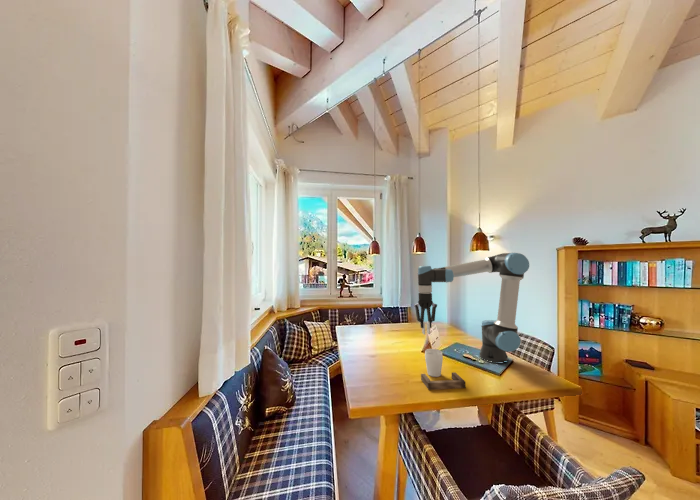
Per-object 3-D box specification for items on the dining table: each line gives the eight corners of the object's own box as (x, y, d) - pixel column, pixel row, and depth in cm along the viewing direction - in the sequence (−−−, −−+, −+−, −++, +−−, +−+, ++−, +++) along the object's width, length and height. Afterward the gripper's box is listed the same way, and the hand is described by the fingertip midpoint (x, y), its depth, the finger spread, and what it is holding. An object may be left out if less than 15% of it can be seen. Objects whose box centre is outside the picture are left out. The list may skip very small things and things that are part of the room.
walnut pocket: (455, 378, 131) (455, 372, 132) (465, 388, 121) (465, 381, 122) (421, 379, 130) (421, 373, 130) (428, 389, 120) (428, 383, 120)
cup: (444, 378, 131) (443, 355, 132) (426, 377, 133) (425, 354, 133) (441, 371, 140) (441, 349, 140) (424, 370, 142) (424, 348, 142)
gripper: (435, 291, 153) (436, 331, 152) (410, 292, 152) (411, 332, 151) (440, 293, 145) (441, 335, 144) (414, 293, 144) (415, 336, 143)
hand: (426, 333), depth 148 cm, fingers open, 2 cm apart
